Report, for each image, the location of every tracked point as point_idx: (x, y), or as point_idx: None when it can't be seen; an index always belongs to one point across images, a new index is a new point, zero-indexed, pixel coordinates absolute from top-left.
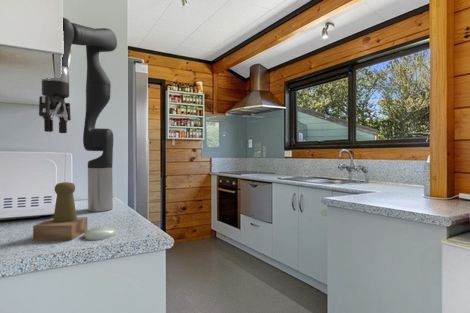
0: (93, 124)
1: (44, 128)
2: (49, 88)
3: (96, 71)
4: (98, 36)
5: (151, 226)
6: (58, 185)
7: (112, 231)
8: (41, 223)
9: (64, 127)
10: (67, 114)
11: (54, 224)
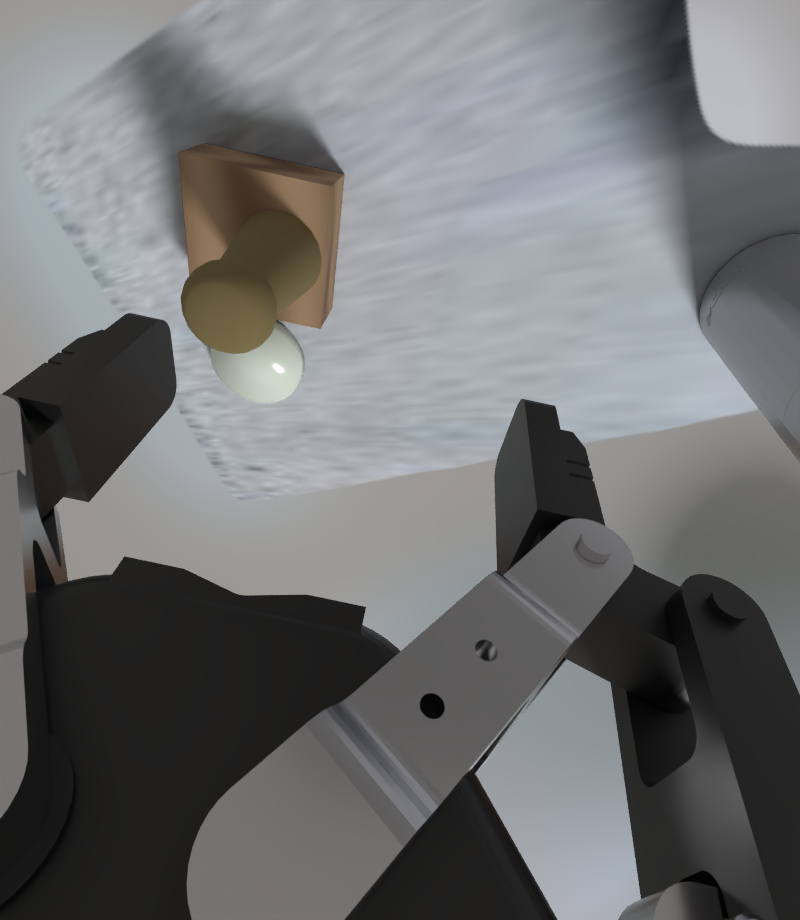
0: None
1: (112, 325)
2: None
3: None
4: None
5: (352, 480)
6: (182, 294)
7: (244, 398)
8: (221, 172)
9: (501, 507)
10: (635, 758)
11: (205, 235)
